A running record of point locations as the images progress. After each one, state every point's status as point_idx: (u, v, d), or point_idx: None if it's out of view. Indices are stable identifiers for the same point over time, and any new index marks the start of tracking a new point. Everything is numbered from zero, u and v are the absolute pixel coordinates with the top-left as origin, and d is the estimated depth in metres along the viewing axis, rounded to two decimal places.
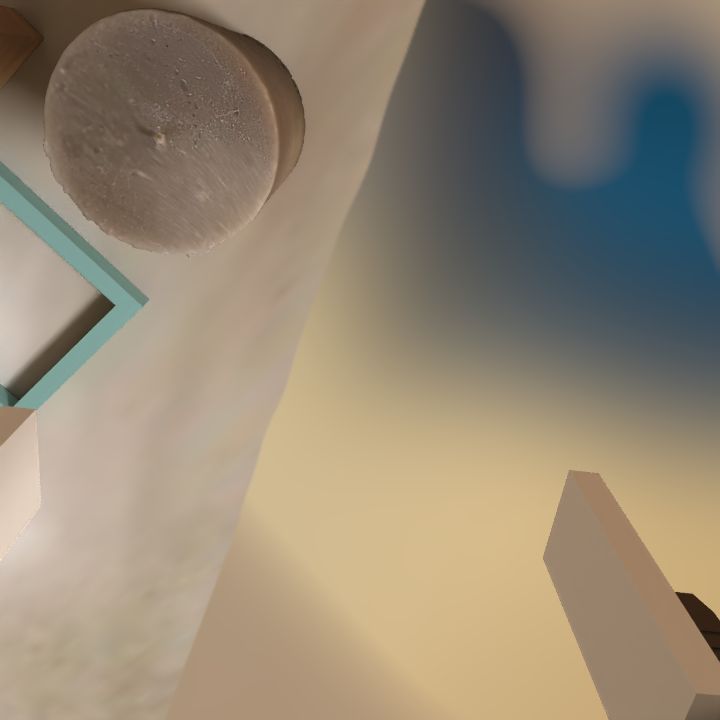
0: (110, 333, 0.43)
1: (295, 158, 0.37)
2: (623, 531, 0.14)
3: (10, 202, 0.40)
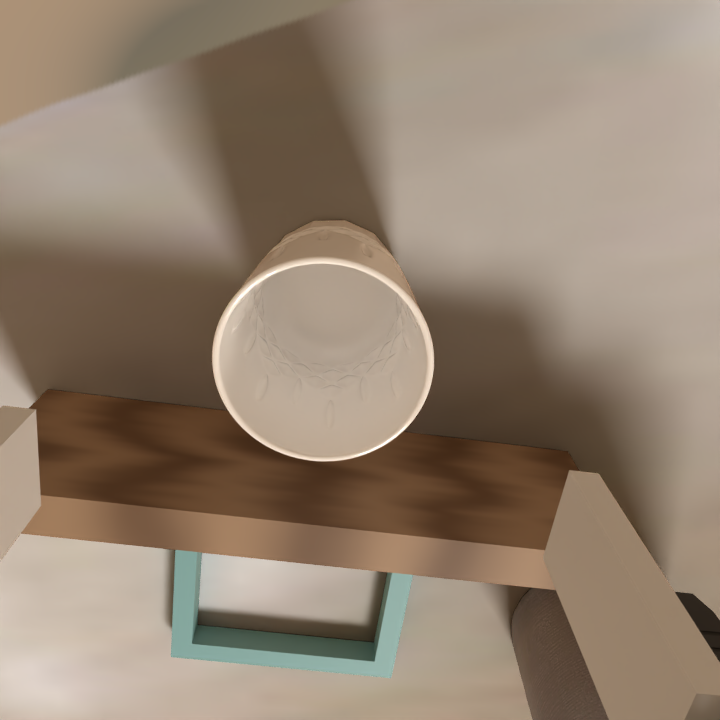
0: (344, 671, 0.41)
1: None
2: (623, 531, 0.14)
3: None
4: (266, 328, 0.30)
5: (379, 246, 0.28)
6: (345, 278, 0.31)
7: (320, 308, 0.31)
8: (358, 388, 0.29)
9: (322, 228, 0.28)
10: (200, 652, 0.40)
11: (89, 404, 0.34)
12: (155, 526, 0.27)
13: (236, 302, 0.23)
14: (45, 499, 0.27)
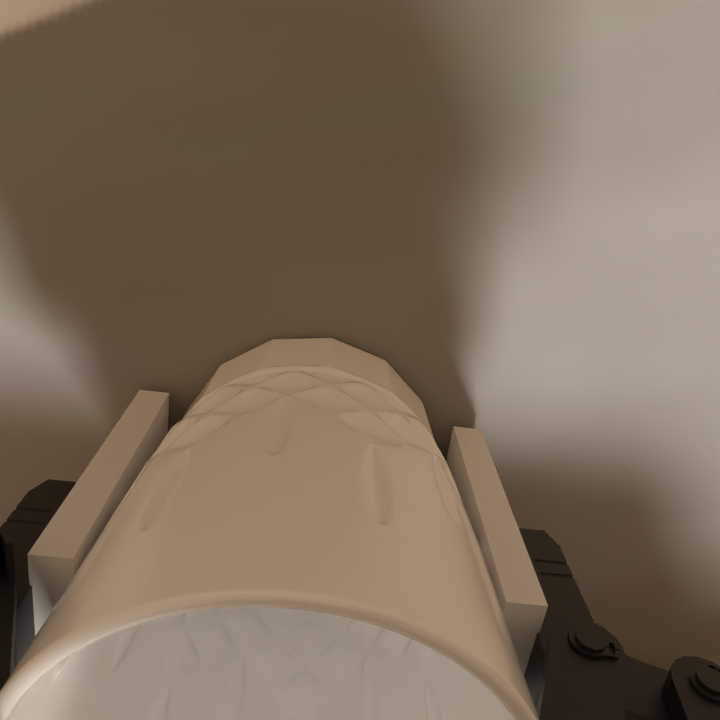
0: None
1: None
2: (487, 476, 0.16)
3: None
4: None
5: (401, 419, 0.14)
6: None
7: None
8: (358, 693, 0.15)
9: (283, 379, 0.14)
10: None
11: None
12: None
13: (16, 698, 0.08)
14: None
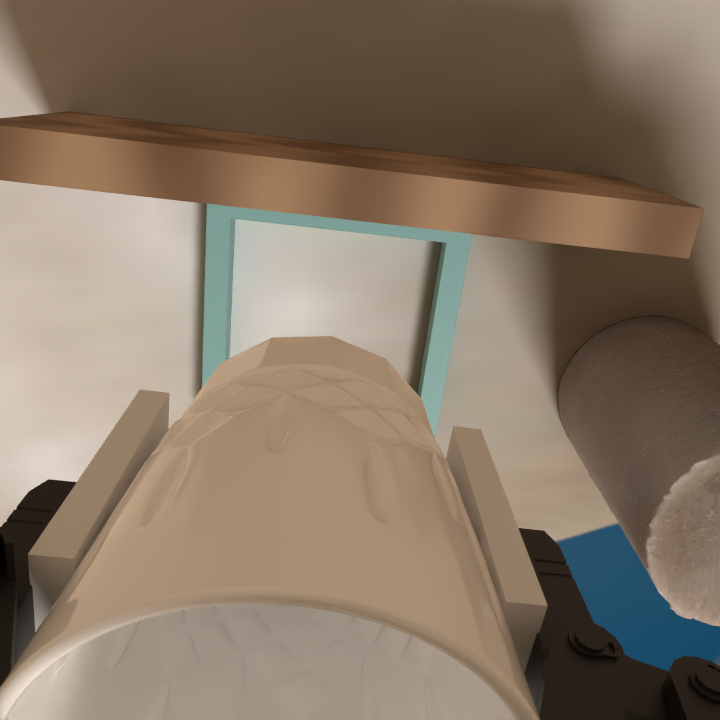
0: None
1: None
2: (486, 476, 0.16)
3: (445, 293, 0.35)
4: None
5: (400, 417, 0.14)
6: None
7: None
8: (358, 691, 0.15)
9: (283, 377, 0.14)
10: None
11: (112, 119, 0.32)
12: (189, 173, 0.25)
13: (15, 695, 0.08)
14: (70, 139, 0.25)
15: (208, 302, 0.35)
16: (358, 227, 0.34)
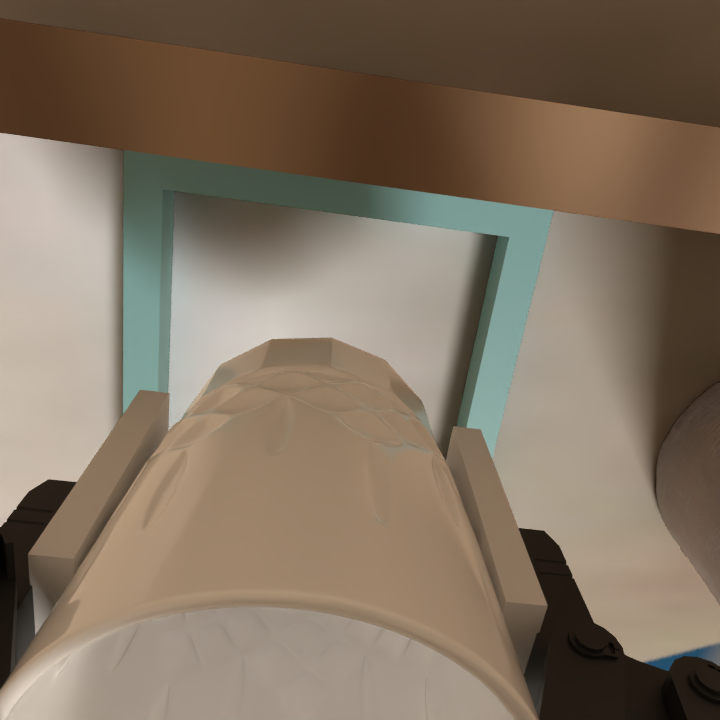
0: None
1: None
2: (486, 476, 0.16)
3: (502, 316, 0.22)
4: None
5: (400, 419, 0.14)
6: None
7: None
8: (358, 693, 0.15)
9: (283, 379, 0.14)
10: None
11: None
12: (40, 78, 0.12)
13: (15, 697, 0.08)
14: None
15: (129, 323, 0.22)
16: (369, 208, 0.21)
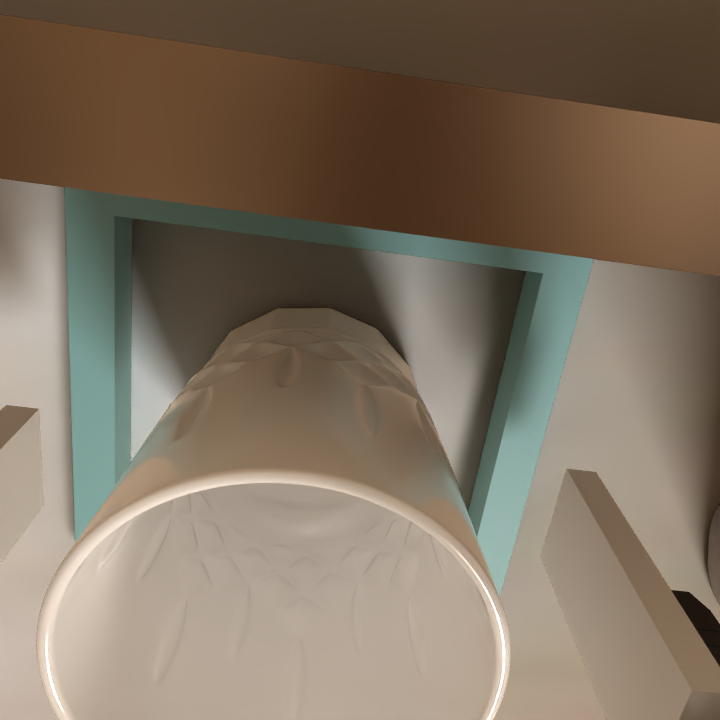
0: None
1: None
2: (620, 529, 0.14)
3: (533, 368, 0.18)
4: (194, 494, 0.18)
5: (389, 371, 0.16)
6: None
7: None
8: (349, 613, 0.17)
9: (288, 337, 0.16)
10: None
11: None
12: None
13: (81, 558, 0.10)
14: None
15: (78, 376, 0.18)
16: (370, 239, 0.17)
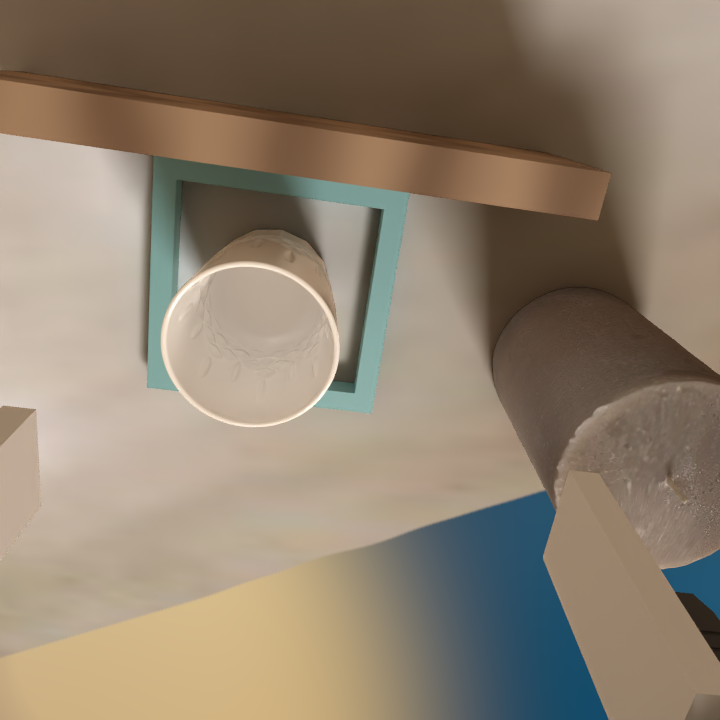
0: (324, 405, 0.40)
1: None
2: (623, 531, 0.14)
3: (383, 258, 0.37)
4: (212, 319, 0.36)
5: (306, 253, 0.34)
6: (281, 278, 0.37)
7: (260, 304, 0.37)
8: (287, 370, 0.35)
9: (259, 236, 0.34)
10: None
11: (61, 79, 0.33)
12: (127, 123, 0.27)
13: (180, 295, 0.28)
14: (13, 87, 0.26)
15: (154, 261, 0.36)
16: (299, 192, 0.35)
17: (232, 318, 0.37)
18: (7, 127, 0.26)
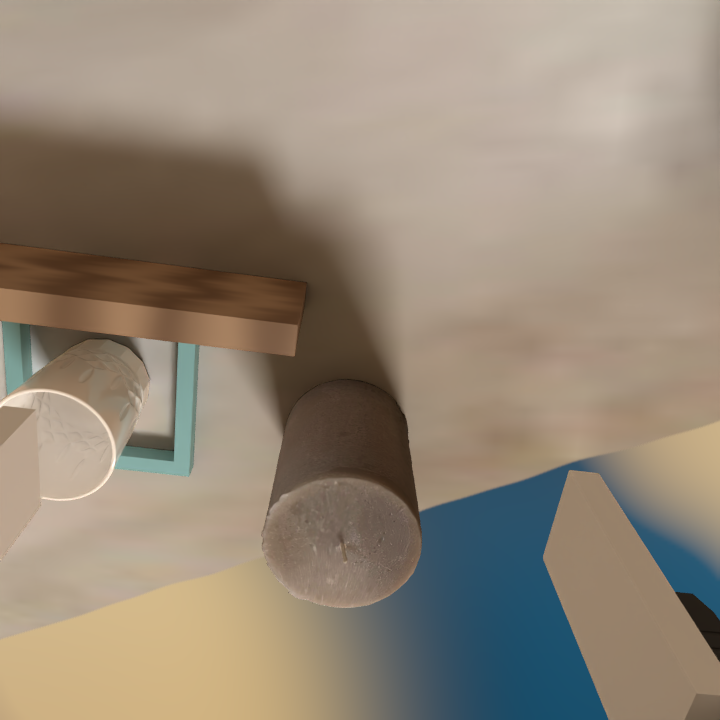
0: (151, 470, 0.51)
1: None
2: (623, 531, 0.14)
3: (182, 362, 0.48)
4: (51, 410, 0.47)
5: (113, 364, 0.45)
6: None
7: None
8: (103, 451, 0.46)
9: (79, 352, 0.46)
10: None
11: None
12: None
13: None
14: None
15: (8, 366, 0.48)
16: None
17: (70, 407, 0.49)
18: None
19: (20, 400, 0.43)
